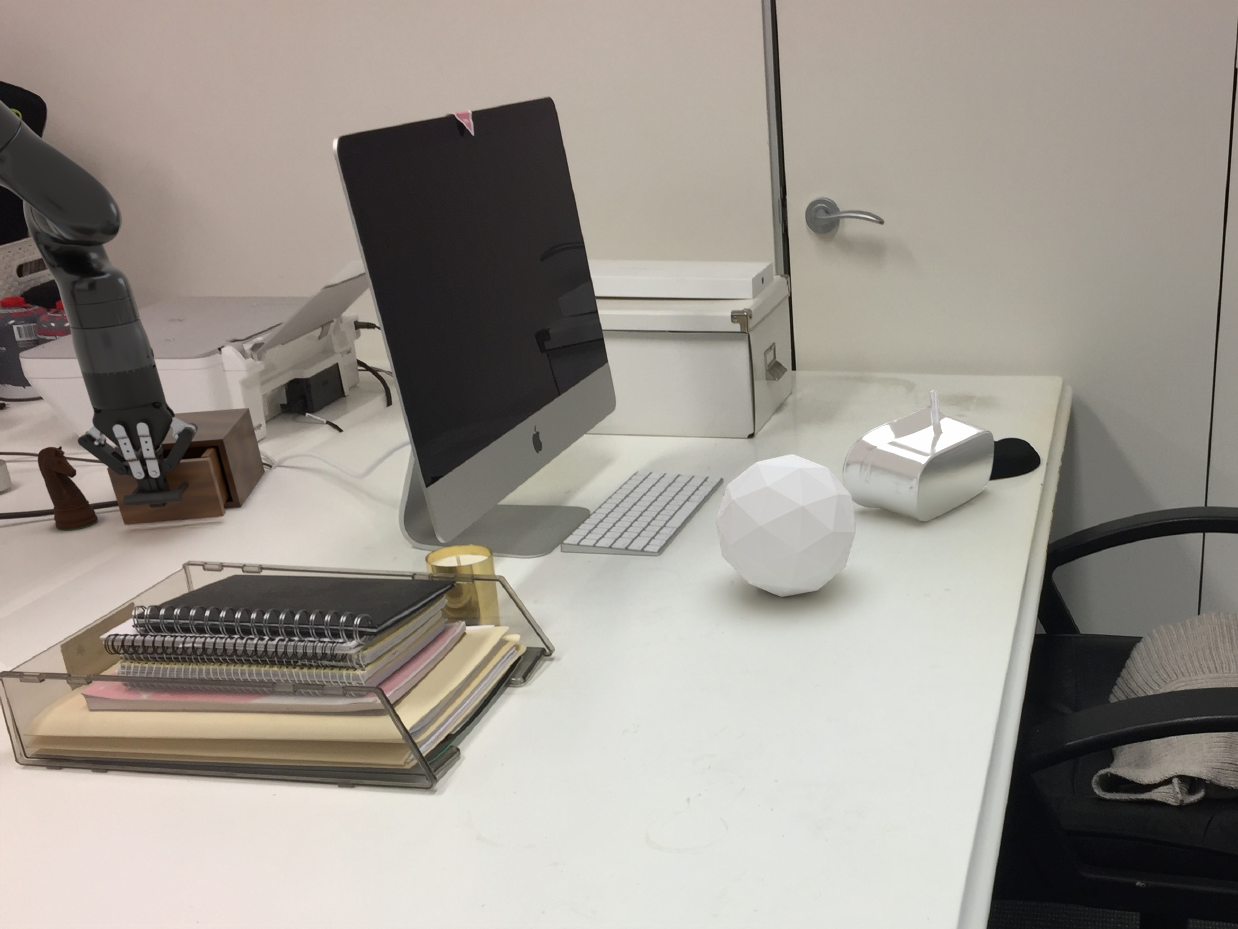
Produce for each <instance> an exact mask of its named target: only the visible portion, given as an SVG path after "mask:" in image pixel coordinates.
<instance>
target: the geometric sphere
mask: <svg viewBox="0 0 1238 929" xmlns="http://www.w3.org/2000/svg"><path fill="white" fill-rule="evenodd" d="M853 503H854V502H853V500H852V495H851V494H850V493H849V492H848V491H847V490H846V488H845V485H844V484H842V482H841V481H840V480H839V479H838V478H837V477H836V476H835V475H834V474H833V472H832V471H831V470H830V469H829V468H828V467H827V466H825V465H822V464H819V463H817V462H814V461H811V460H808V459H807V458H804V457H801V456H799V455H797V454H794V453H789V454H785V455H781V456H777V457H772V458H768V459H764V460H758V461H756V462H755V463H753V464H752V465H750V466H749V467H748V468H747V469H745V470H744V471H742V473H740V474H739V475H738V476H737V477H735V478H734V479H733V480H732V481H730V482H729V483H727V485H726V488H725V491H724V494H723V497H722V500H721V503H720V506H719V509H718V512H717V516H716V518H715V525H716V529H717V535H718V540H719V541H718V542H719V547H720V552H721V558H723V559H724V560H725V561H726V563H728V564H729V566H731V567H732V569H733V570H735V571H736V573H737V574H738V575H739V576H740V577H741V578H742V579H743V580H744V581H745V582H746V583H747V584H749V585H752V586H754V587H756V588H759V589H761V590H763V591H766V592H768V593H770V594H773V595H775V596H778V597H780V598H784V597H790V596H796V595H800V594H801V595H802V594H805V593H811V592H816V591H819V590H820V589H821V588H822V587H823V586H825V585H826V584H827V583H828V582H830V581H831V579H833V578H834V577H836V575H838V574H839V573H840V572H841V571H843V570H844V569H845V568H846V566H847V563H848V560H849V557H850V554H851V549H852V546H853V542H854V539H855V536H856V534H857V528H856V520H855V513H854V505H853Z"/></svg>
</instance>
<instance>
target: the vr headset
mask: <svg viewBox="0 0 1238 929" xmlns="http://www.w3.org/2000/svg"><path fill="white" fill-rule="evenodd" d="M938 392H939V391H938V390H931V391H930V392H929V397H930V405H927V406H925V407H923V408H921V409H919V410H917V411H915V412H912V413H911V414H908V415H906V416H903V417H899V418H897V419H896V418H895V419H894V420H891V421H888V422H886V423H884V424H881V425H879V426H877V427H875V428H873V429H871V430H869V431H868V432H865V434H863V435H862V436H860V437H858V439H856V441H854V443H853V444H852V446H851V447H850V448H849V450H848V452H847V453H846V456H845V459H844V461H843V464H842V465H843V466H842V482H843V486H844V487H845V488H846V490H847V491H848V492H849V493H850V494H851V495H852V502H853V503H855V504H856V505H858V506H861V507H864V508H868V509H880V510H883V511H886V512H890V513H893V514H897V515H900V516H903V517H907V518H909V519H913V520H916V521H919V522H928V521H929V522H930V521H932V520H934V519H936V518H938V517H940V516H943V515H945V514H947V513H949V512H950V511H952V510H954V509H956V508H958V507H960V506H962V505H963V504H965V503H967V502H969V501H970V500H972V499H974V498H975V497H976V496H978V495H979V494H981V493H982V492H983V491H984V490H985V488H986V487H987V485H988V483H989V481H990V479H991V475H992V470H993V465H994V464H993V463H994V453H995V440H994V434H993V433H992V431H991V430H990V429H987V428H984V427H981V426H978V425H975V424H972V423H969V422H966V421H963V420H959V419H957V418H954V417H952V416H948V415H945V414H944V413H942V412H940V404H939V403H940V402H939V393H938Z"/></svg>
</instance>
